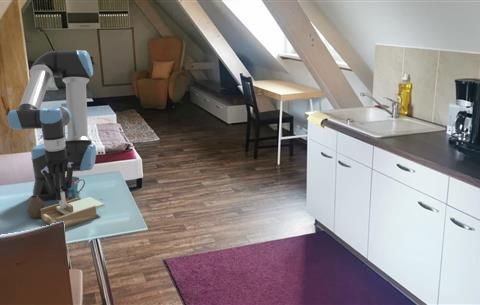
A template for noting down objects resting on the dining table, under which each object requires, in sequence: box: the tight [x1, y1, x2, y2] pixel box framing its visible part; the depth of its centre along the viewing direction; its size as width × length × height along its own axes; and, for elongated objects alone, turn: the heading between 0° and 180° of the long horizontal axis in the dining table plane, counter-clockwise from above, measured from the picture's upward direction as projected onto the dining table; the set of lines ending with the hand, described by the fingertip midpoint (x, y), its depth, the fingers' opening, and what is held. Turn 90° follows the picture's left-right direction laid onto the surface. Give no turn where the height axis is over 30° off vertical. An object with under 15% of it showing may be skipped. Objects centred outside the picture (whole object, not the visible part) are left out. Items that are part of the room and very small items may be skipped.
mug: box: [59, 176, 86, 201], centre depth 204 cm, size 12×9×11 cm
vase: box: [26, 195, 47, 220], centre depth 190 cm, size 7×7×9 cm
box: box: [40, 198, 98, 229], centre depth 188 cm, size 14×16×5 cm
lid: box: [56, 196, 105, 215], centre depth 191 cm, size 12×15×4 cm
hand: (63, 207), depth 186 cm, fingers closed
